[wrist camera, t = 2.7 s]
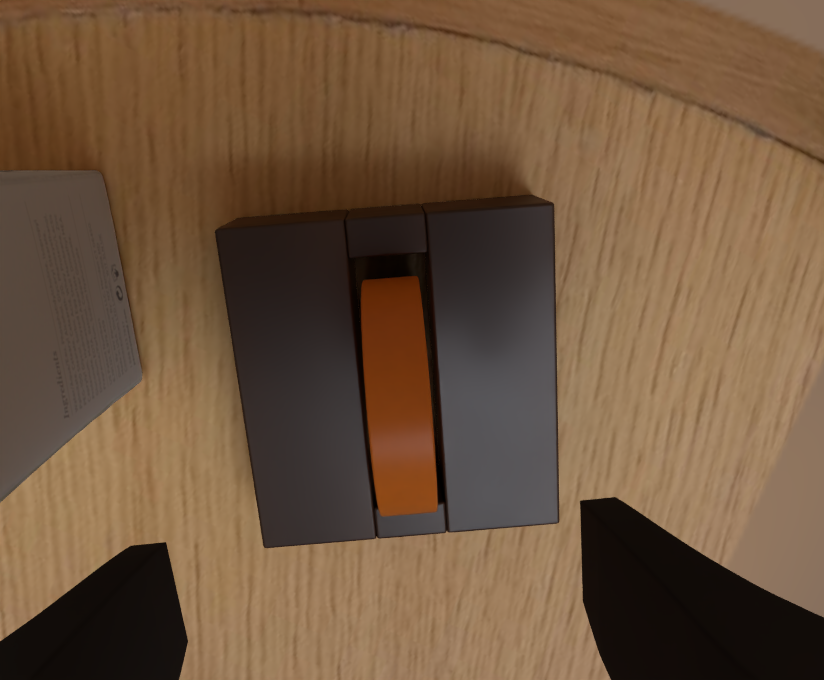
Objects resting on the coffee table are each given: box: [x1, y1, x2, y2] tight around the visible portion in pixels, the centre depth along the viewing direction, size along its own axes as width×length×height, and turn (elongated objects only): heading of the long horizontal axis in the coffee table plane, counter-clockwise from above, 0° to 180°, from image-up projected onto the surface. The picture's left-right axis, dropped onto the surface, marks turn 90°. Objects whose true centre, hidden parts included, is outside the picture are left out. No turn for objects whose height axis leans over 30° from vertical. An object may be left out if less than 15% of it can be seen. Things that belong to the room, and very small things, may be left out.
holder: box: [215, 195, 559, 548], centre depth 19 cm, size 8×9×2 cm
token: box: [361, 276, 438, 517], centre depth 18 cm, size 1×6×6 cm, turn 4°
